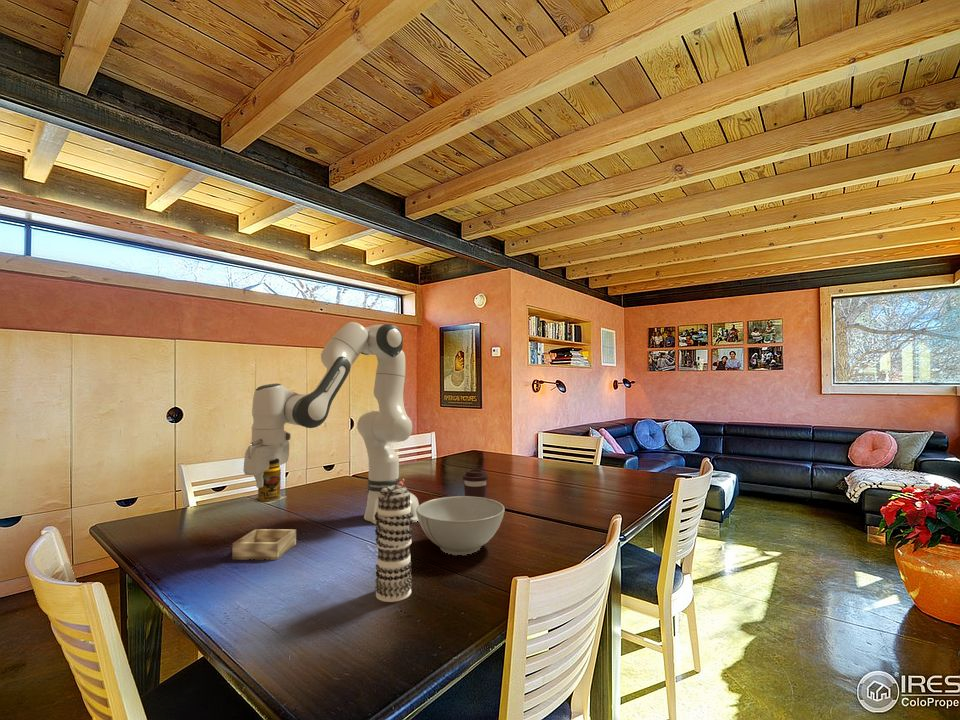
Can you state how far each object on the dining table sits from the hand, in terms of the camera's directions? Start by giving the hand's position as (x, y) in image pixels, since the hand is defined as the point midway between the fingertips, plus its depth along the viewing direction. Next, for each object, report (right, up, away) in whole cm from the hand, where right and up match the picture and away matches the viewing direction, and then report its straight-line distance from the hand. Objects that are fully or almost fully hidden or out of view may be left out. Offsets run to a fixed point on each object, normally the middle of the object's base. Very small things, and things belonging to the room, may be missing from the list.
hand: (267, 484), depth 132 cm
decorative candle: (+43, -19, -27) cm, 54 cm away
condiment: (0, -5, 0) cm, 5 cm away
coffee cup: (+62, -22, +41) cm, 78 cm away
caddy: (0, -20, -1) cm, 20 cm away
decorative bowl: (+58, -20, +1) cm, 62 cm away
